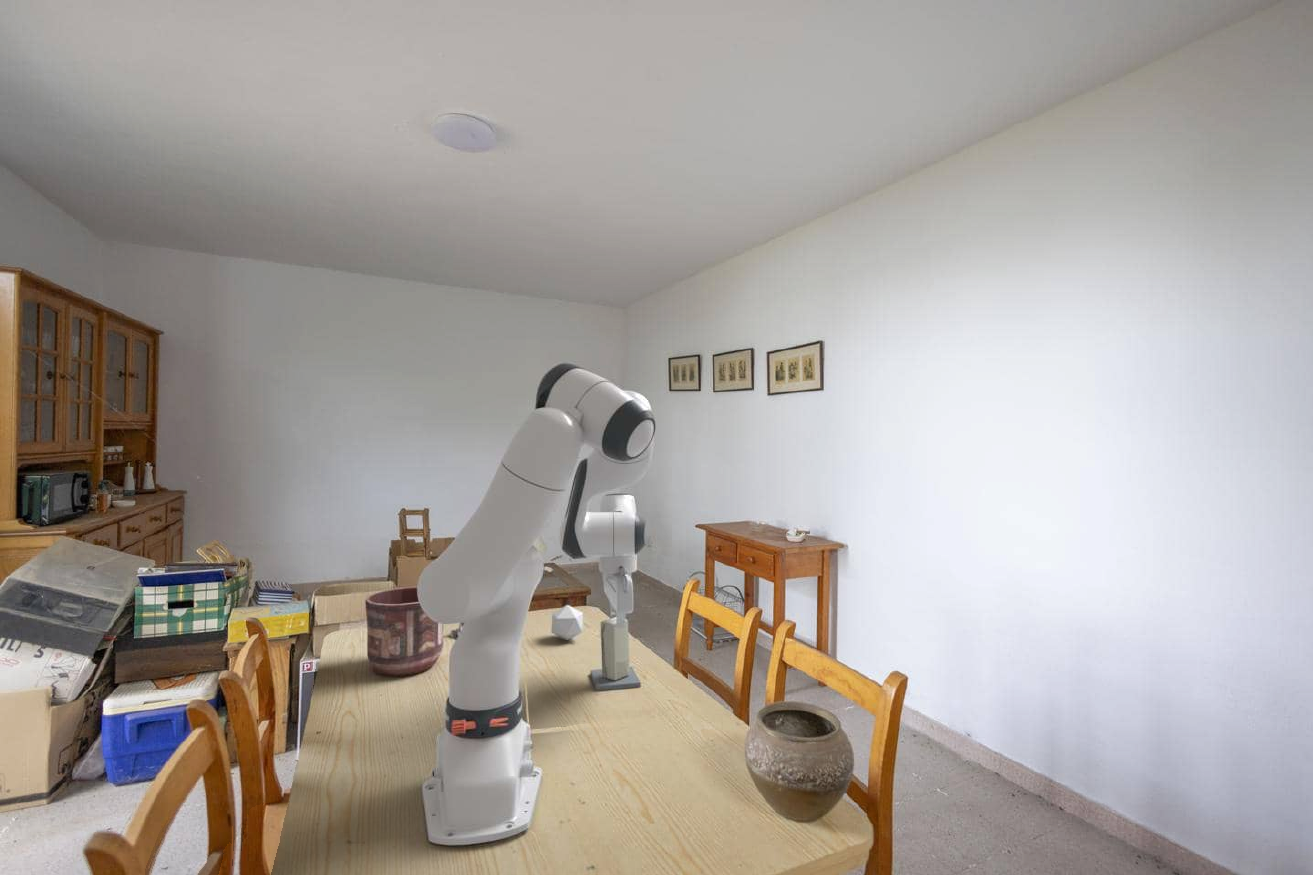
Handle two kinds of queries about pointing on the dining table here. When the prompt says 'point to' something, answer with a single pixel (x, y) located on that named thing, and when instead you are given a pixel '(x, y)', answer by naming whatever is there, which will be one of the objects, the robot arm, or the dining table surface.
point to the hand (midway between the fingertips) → (617, 622)
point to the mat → (614, 681)
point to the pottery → (401, 634)
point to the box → (614, 649)
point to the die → (567, 622)
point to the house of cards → (457, 630)
